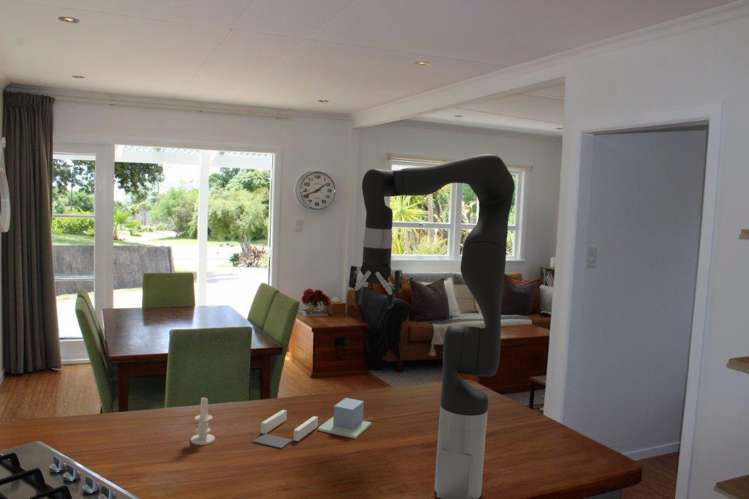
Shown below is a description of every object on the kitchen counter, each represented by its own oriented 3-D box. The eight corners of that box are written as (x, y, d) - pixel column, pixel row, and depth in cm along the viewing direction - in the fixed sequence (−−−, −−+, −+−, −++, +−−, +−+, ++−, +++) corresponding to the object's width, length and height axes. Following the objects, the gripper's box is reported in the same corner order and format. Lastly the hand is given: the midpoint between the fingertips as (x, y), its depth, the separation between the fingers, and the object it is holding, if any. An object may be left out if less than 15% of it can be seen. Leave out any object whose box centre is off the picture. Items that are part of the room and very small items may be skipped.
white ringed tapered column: (204, 433, 142) (205, 390, 141) (219, 440, 139) (221, 395, 138) (185, 440, 137) (187, 395, 136) (201, 447, 134) (202, 401, 133)
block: (351, 429, 148) (352, 409, 147) (333, 425, 150) (334, 405, 149) (362, 420, 154) (363, 401, 154) (344, 416, 156) (345, 397, 156)
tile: (355, 438, 144) (355, 436, 144) (317, 430, 148) (317, 428, 148) (371, 424, 153) (371, 422, 153) (335, 417, 157) (335, 414, 157)
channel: (286, 450, 135) (286, 439, 135) (248, 441, 139) (248, 430, 139) (317, 426, 150) (318, 416, 150) (282, 419, 153) (282, 409, 153)
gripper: (407, 247, 161) (403, 307, 163) (358, 242, 166) (354, 301, 168) (398, 248, 154) (394, 311, 156) (347, 244, 159) (343, 305, 161)
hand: (373, 306), depth 162 cm, fingers open, 8 cm apart
